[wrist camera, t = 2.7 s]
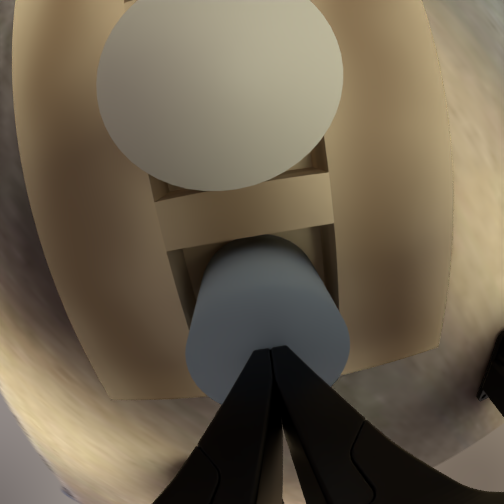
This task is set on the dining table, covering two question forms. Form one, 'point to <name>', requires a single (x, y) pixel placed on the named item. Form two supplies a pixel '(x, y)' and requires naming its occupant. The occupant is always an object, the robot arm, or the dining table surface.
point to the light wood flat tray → (238, 197)
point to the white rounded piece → (219, 88)
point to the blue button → (262, 314)
